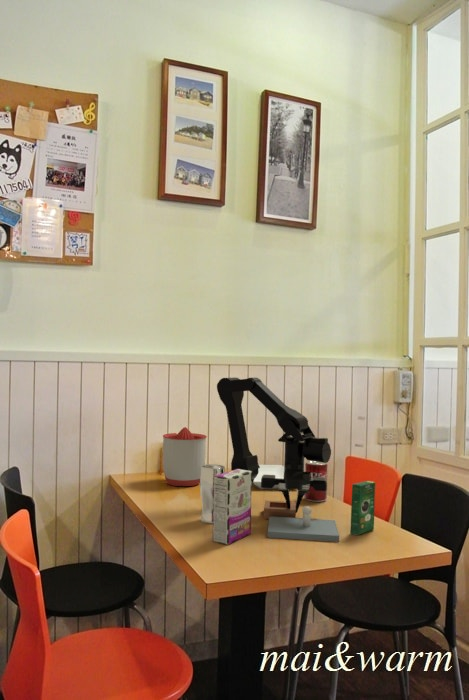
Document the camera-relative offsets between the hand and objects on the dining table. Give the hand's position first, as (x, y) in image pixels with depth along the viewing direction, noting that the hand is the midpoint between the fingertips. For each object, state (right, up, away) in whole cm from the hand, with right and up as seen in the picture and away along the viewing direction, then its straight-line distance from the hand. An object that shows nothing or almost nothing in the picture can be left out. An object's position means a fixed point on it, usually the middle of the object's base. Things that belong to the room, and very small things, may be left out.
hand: (292, 512), depth 167 cm
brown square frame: (-4, -1, 0) cm, 4 cm away
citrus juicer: (-35, -1, +39) cm, 52 cm away
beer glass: (-23, -1, -7) cm, 24 cm away
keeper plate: (+1, -1, -14) cm, 14 cm away
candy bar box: (-18, -1, -21) cm, 28 cm away
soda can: (+9, -2, +20) cm, 22 cm away
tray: (-4, -2, +47) cm, 47 cm away
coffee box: (+17, -2, -13) cm, 21 cm away
